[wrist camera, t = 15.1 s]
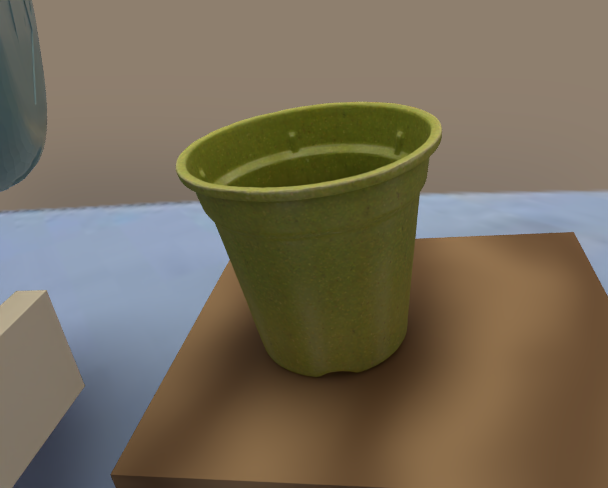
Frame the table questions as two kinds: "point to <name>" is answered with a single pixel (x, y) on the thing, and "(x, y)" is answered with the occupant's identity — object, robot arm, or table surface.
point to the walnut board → (401, 386)
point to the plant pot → (319, 224)
